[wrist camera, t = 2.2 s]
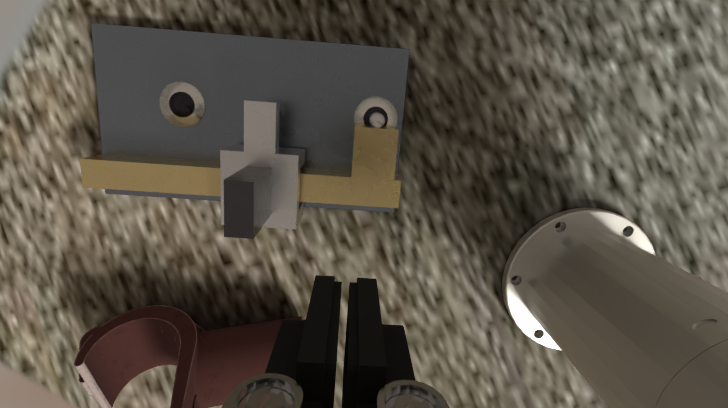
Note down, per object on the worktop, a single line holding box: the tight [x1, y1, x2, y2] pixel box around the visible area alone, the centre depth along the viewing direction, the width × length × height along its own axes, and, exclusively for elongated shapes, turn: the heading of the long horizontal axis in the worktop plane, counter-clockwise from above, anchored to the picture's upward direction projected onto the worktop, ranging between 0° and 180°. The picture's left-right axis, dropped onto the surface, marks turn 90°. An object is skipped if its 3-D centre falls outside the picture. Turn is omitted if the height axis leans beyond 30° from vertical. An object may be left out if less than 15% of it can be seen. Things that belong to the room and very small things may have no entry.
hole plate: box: [91, 23, 409, 212], centre depth 30 cm, size 22×12×1 cm, turn 86°
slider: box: [220, 100, 305, 239], centre depth 26 cm, size 5×8×9 cm, turn 176°
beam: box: [80, 112, 401, 208], centre depth 29 cm, size 22×6×2 cm, turn 86°
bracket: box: [74, 305, 302, 408], centre depth 31 cm, size 6×17×10 cm, turn 92°
